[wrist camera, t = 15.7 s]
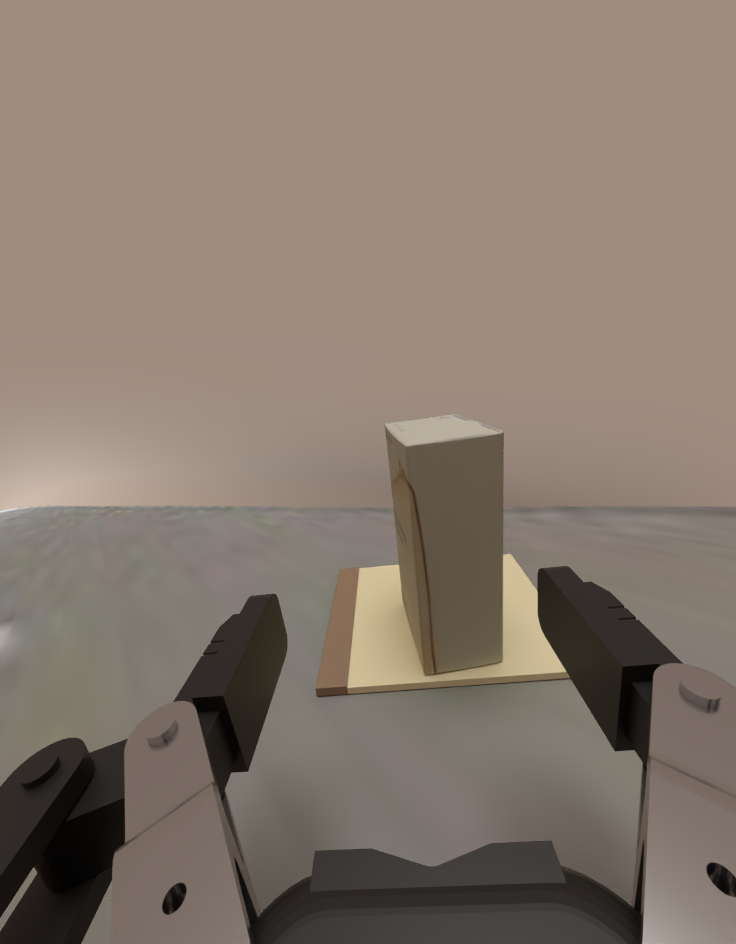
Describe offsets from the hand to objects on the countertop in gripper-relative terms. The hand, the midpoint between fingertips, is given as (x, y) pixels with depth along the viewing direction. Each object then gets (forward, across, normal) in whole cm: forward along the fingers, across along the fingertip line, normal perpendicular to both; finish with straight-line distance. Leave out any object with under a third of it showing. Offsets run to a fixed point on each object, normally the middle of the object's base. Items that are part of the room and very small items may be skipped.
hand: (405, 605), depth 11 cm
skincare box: (+8, -2, +8) cm, 12 cm away
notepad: (+10, -2, +9) cm, 13 cm away
